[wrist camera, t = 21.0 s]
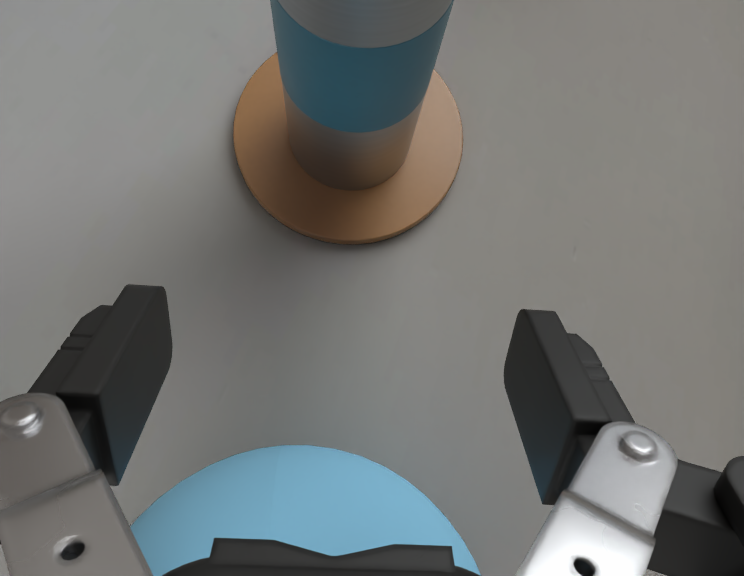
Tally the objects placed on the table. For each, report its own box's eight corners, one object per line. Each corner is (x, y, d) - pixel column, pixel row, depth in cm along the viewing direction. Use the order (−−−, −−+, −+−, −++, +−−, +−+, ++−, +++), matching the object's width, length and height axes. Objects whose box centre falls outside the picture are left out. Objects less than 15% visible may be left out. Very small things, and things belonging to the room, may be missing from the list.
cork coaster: (461, 48, 30) (464, 41, 29) (459, 252, 27) (462, 248, 27) (246, 29, 29) (244, 21, 29) (223, 236, 27) (220, 232, 26)
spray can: (412, 84, 28) (515, -326, 13) (409, 195, 27) (518, -115, 12) (293, 74, 28) (251, -361, 13) (283, 186, 27) (222, -146, 11)
